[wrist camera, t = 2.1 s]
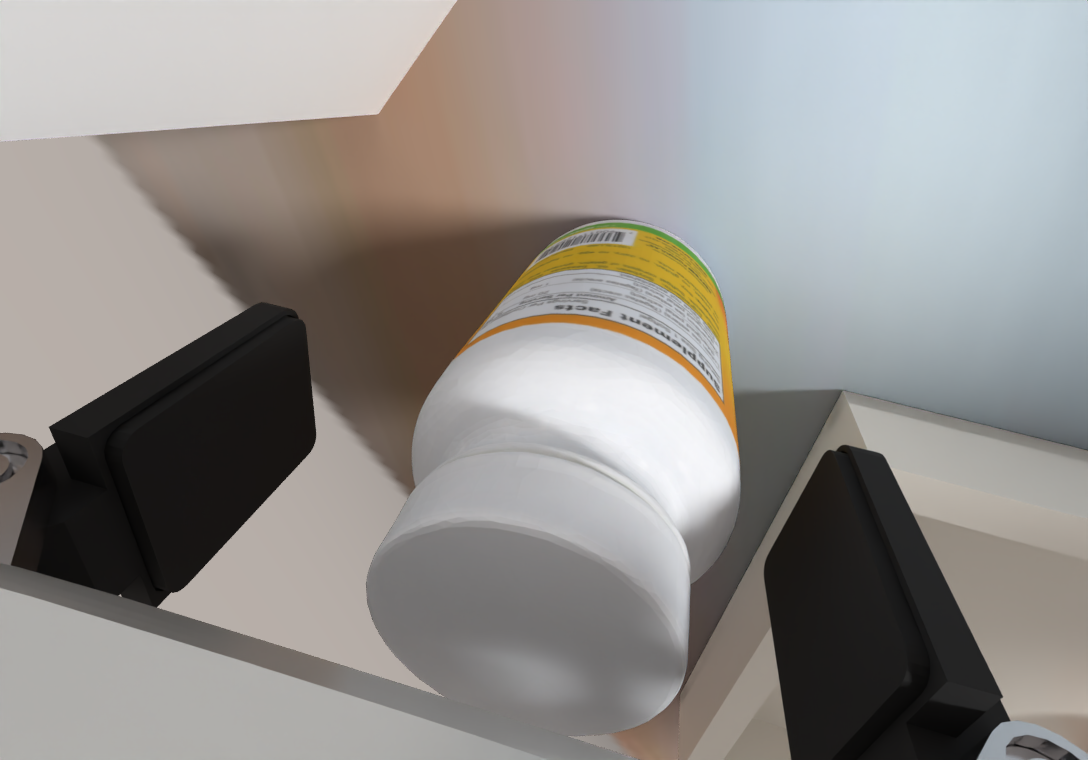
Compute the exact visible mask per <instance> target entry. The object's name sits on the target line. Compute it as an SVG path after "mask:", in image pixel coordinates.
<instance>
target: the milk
mask: <svg viewBox="0 0 1088 760" xmlns="http://www.w3.org/2000/svg"><path fill="white" fill-rule="evenodd" d="M456 1H457V0H0V142H6V141H19V140H33V139H46V138H60V137H73V136H88V135H102V134H115V133H129V132H143V131H156V130H170V129H184V128H197V127H211V126H225V125H238V124H252V123H266V122H279V121H293V120H307V119H320V118H334V117H348V116H361V115H375V114H378V113H379V112H380V111H381V109H382V108H383V106H384V105H385V103H386V102H387V100H388V99H389V98H390V96H391V95H392V93H393V92H394V90H395V89H396V88H397V86H398V85H399V83H400V82H401V80H402V79H403V77H404V76H405V75H406V73H407V72H408V70H409V69H410V67H411V66H412V64H413V63H414V62H415V60H416V59H417V57H418V56H419V54H420V53H421V52H422V50H423V49H424V47H425V46H426V44H427V43H428V41H429V40H430V39H431V37H432V36H433V34H434V33H435V31H436V30H437V28H438V27H439V26H440V24H441V23H442V21H443V20H444V18H445V17H446V16H447V14H448V13H449V11H450V10H451V8H452V7H453V5H454V4H455V3H456Z"/></svg>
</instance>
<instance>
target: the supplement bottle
mask: <svg viewBox="0 0 1088 760" xmlns="http://www.w3.org/2000/svg"><path fill="white" fill-rule="evenodd" d="M412 471H413V478H414V482H415V487H416V488H415V489H414V490H413V492H412V493H411V494H410V495H409V497H408V499H407V501H406V503H405V504H404V506H403V508H402V510H401V512H400V514H399V516H398V517H397V519H396V521H395V523H394V524H393V526H392V527H391V529H390V531H389V532H388V534H387V535H386V537H385V539H384V540H383V542H382V543H381V545H380V547H379V548H378V550H377V552H376V553H375V555H374V558H373V560H372V563H371V566H370V568H369V572H368V576H367V582H366V588H367V589H366V590H367V603H368V607H369V610H370V613H371V616H372V620H373V622H374V624H375V626H376V628H377V630H378V632H379V634H380V636H381V637H382V639H383V640H384V642H385V643H386V644H387V646H388V647H389V648H390V650H391V651H392V652H393V653H394V655H395V656H396V657H397V658H398V659H399V660H400V661H401V662H402V663H403V664H404V665H405V666H406V667H407V668H408V669H409V670H410V671H411V672H412V673H413V674H414V675H415V676H417V677H418V678H419V679H420V680H422V681H423V682H424V683H426V684H427V685H429V686H430V687H432V688H433V689H434V690H436V691H437V692H438V693H439V694H441V695H443V696H444V697H446V698H448V699H451V700H454V701H457V702H461V703H464V704H467V705H470V706H473V707H476V708H480V709H483V710H486V711H489V712H492V713H495V714H499V715H502V716H505V717H508V718H511V719H514V720H518V721H521V722H524V723H527V724H530V725H533V726H536V727H539V728H543V729H546V730H549V731H552V732H555V733H558V734H561V735H564V736H585V735H602V734H610V733H616V732H620V731H624V730H627V729H631V728H634V727H636V726H638V725H641V724H643V723H645V722H648V721H649V720H651V719H652V718H653V717H655V716H656V715H658V714H659V713H660V712H662V711H663V710H664V709H665V708H666V707H667V706H668V705H669V704H670V703H671V702H672V701H673V699H674V698H675V696H676V695H677V693H678V692H679V690H680V687H681V685H682V683H683V680H684V677H685V673H686V670H687V663H688V642H689V625H690V591H691V587H690V585H691V584H692V583H694V582H695V581H697V580H698V579H699V578H700V577H701V576H702V575H703V574H705V573H706V572H707V571H708V570H709V569H710V567H711V566H712V565H713V564H714V563H715V561H716V560H717V559H718V558H719V556H720V555H721V553H722V551H723V550H724V548H725V547H726V545H727V543H728V541H729V539H730V536H731V534H732V531H733V529H734V526H735V523H736V519H737V515H738V510H739V506H740V494H741V482H740V456H739V446H738V436H737V426H736V415H735V404H734V393H733V384H732V374H731V361H730V352H729V341H728V330H727V321H726V313H725V307H724V302H723V298H722V294H721V291H720V288H719V286H718V283H717V281H716V279H715V277H714V275H713V273H712V272H711V270H710V268H709V267H708V265H707V264H706V263H705V261H704V260H703V259H702V258H701V257H700V256H699V254H698V253H697V252H696V251H695V250H693V249H692V248H691V247H690V246H689V245H688V244H687V243H686V242H684V241H683V240H682V239H680V238H679V237H677V236H676V235H674V234H672V233H670V232H669V231H666V230H664V229H662V228H659V227H657V226H654V225H650V224H647V223H643V222H638V221H631V220H605V221H598V222H593V223H589V224H586V225H582V226H580V227H577V228H575V229H573V230H571V231H569V232H567V233H565V234H563V235H562V236H560V237H559V238H557V239H556V240H554V241H553V242H552V243H551V244H549V245H548V246H547V247H546V248H545V249H544V250H543V251H542V252H541V253H540V254H539V255H538V256H537V257H536V258H535V259H534V260H533V262H532V263H531V264H530V265H529V266H528V268H527V269H526V270H525V271H524V272H523V274H522V275H521V276H520V277H519V279H518V280H517V281H516V283H515V284H514V285H513V286H512V288H511V289H510V290H509V291H508V292H507V294H506V295H505V296H504V297H503V299H502V300H501V301H500V302H499V304H498V305H497V306H496V307H495V309H494V310H493V311H492V312H491V314H490V315H489V316H488V317H487V318H486V320H485V321H484V322H483V323H482V325H481V326H480V327H479V328H478V330H477V331H476V332H475V333H474V334H473V336H472V337H471V338H470V339H469V340H468V342H467V343H466V344H465V346H464V347H463V348H462V349H461V350H460V352H459V353H458V354H457V355H456V357H455V358H454V359H453V361H452V362H451V363H450V365H449V366H448V367H447V369H446V370H445V371H444V373H443V374H442V375H441V377H440V378H439V380H438V381H437V382H436V384H435V385H434V387H433V389H432V390H431V392H430V393H429V395H428V396H427V398H426V400H425V402H424V404H423V406H422V408H421V411H420V414H419V416H418V419H417V423H416V426H415V430H414V435H413V442H412Z"/></svg>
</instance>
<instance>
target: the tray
mask: <svg viewBox="0 0 1088 760" xmlns="http://www.w3.org/2000/svg"><path fill="white" fill-rule="evenodd" d="M841 445H850V446H854V447H858V448H862V449H866V450H870V451H874V452H878V453H881V454H883V456H884V457H885V458H886V460H887V462H888V464H889V466H890V468H891V470H892V472H893V474H894V476H895V478H896V480H897V482H898V484H899V486H900V488H901V490H902V493H903V495H904V497H905V499H906V501H907V503H908V505H909V507H910V509H911V511H912V513H913V515H914V517H915V519H916V521H917V523H918V525H919V527H920V529H921V531H922V533H923V535H924V537H925V539H926V541H927V543H928V545H929V547H930V549H931V551H932V553H933V555H934V557H935V559H936V561H937V563H938V566H939V568H940V570H941V572H942V574H943V576H944V578H945V580H946V582H947V584H948V586H949V588H950V590H951V592H952V594H953V596H954V598H955V600H956V602H957V604H958V606H959V608H960V610H961V612H962V614H963V616H964V618H965V620H966V622H967V624H968V626H969V628H970V630H971V632H972V634H973V636H974V638H975V641H976V643H977V645H978V647H979V649H980V651H981V653H982V655H983V657H984V659H985V661H986V663H987V665H988V667H989V669H990V671H991V673H992V675H993V677H994V679H995V681H996V683H997V685H998V687H999V689H1000V691H1001V693H1002V695H1003V698H1001V699H1000V700H1001V702H1002V704H1003V706H1004V708H1005V710H1006V712H1007V714H1008V716H1009V718H1010V721H1016V720H1018V721H1022V722H1027V723H1032V724H1036V725H1039V726H1041V727H1043V728H1045V729H1047V730H1050V731H1052V732H1054V733H1056V734H1058V735H1060V736H1062V737H1063V738H1065V739H1066V740H1068V741H1069V742H1071V743H1072V744H1074V745H1075V746H1077V747H1078V748H1080V749H1081V750H1083V751H1084V752H1085V753H1087V754H1088V450H1084V449H1080V448H1076V447H1072V446H1068V445H1063V444H1059V443H1055V442H1051V441H1047V440H1043V439H1039V438H1035V437H1031V436H1027V435H1023V434H1019V433H1015V432H1011V431H1007V430H1003V429H998V428H994V427H990V426H986V425H982V424H978V423H974V422H970V421H966V420H962V419H958V418H954V417H950V416H946V415H942V414H938V413H933V412H929V411H925V410H921V409H917V408H913V407H909V406H905V405H901V404H897V403H893V402H889V401H885V400H881V399H877V398H873V397H869V396H864V395H860V394H856V393H852V392H848V391H844V390H843V391H842V393H841V395H840V397H839V398H838V400H837V402H836V404H835V406H834V408H833V410H832V411H831V413H830V415H829V417H828V419H827V421H826V423H825V425H824V426H823V428H822V430H821V432H820V434H819V436H818V438H817V440H816V441H815V443H814V445H813V447H812V449H811V451H810V453H809V454H808V456H807V458H806V460H805V462H804V464H803V466H802V468H801V469H800V471H799V473H798V475H797V477H796V479H795V481H794V483H793V484H792V486H791V488H790V490H789V492H788V494H787V496H786V497H785V499H784V501H783V503H782V505H781V507H780V509H779V511H778V512H777V514H776V516H775V518H774V520H773V522H772V524H771V525H770V527H769V529H768V531H767V533H766V535H765V537H764V539H763V540H762V542H761V544H760V546H759V548H758V550H757V552H756V554H755V555H754V557H753V559H752V561H751V563H750V565H749V567H748V568H747V570H746V572H745V574H744V576H743V578H742V580H741V582H740V583H739V585H738V587H737V589H736V591H735V593H734V595H733V597H732V598H731V600H730V602H729V604H728V606H727V608H726V610H725V611H724V613H723V615H722V617H721V619H720V621H719V623H718V625H717V626H716V628H715V630H714V632H713V634H712V636H711V638H710V639H709V641H708V643H707V645H706V647H705V649H704V651H703V653H702V654H701V656H700V658H699V660H698V662H697V664H696V666H695V668H694V669H693V671H692V673H691V675H690V677H689V679H688V681H687V682H686V684H685V686H684V688H683V690H682V692H681V694H680V708H679V737H678V760H791V755H790V749H789V742H788V735H787V729H786V722H785V715H784V709H783V702H782V695H781V689H780V682H779V675H778V669H777V662H776V656H775V649H774V642H773V636H772V629H771V622H770V616H769V609H768V602H767V596H766V589H765V582H764V565H765V561H766V558H767V555H768V553H769V552H770V550H771V548H772V546H773V544H774V542H775V541H776V539H777V537H778V535H779V533H780V532H781V530H782V528H783V526H784V524H785V523H786V521H787V519H788V517H789V515H790V514H791V512H792V510H793V508H794V506H795V505H796V503H797V501H798V499H799V497H800V495H801V494H802V492H803V490H804V488H805V486H806V485H807V483H808V481H809V479H810V477H811V476H812V474H813V472H814V470H815V468H816V467H817V465H818V463H819V461H820V459H821V457H822V456H823V454H824V453H825V452H826V451H827V450H833V451H836V450H837V449H838V448H839V447H840V446H841Z"/></svg>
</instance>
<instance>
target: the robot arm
mask: <svg viewBox="0 0 1088 760" xmlns="http://www.w3.org/2000/svg"><path fill="white" fill-rule="evenodd" d="M312 397H313V396H312V386H311V376H310V366H309V355H308V345H307V335H306V327H305V324H304V322H303V321H302V320H300V319H299V318H298V315H297V314H296V312H295V311H294V310H292V309H288V308H284V307H280V306H276V305H272V304H268V303H258V304H256V305H254V306H252V307H251V308H249V309H247V310H245V311H244V312H242V313H240V314H239V315H237V316H235V317H234V318H232V319H230V320H229V321H227V322H225V323H224V324H222V325H220V326H219V327H217V328H215V329H213V330H212V331H210V332H208V333H207V334H205V335H203V336H202V337H200V338H198V339H197V340H195V341H193V342H192V343H190V344H188V345H186V346H185V347H183V348H181V349H180V350H178V351H176V352H175V353H173V354H171V355H170V356H168V357H166V358H165V359H163V360H161V361H159V362H158V363H156V364H154V365H153V366H151V367H149V368H148V369H146V370H144V371H143V372H141V373H139V374H137V375H136V376H134V377H132V378H131V379H129V380H127V381H126V382H124V383H123V384H121V385H119V386H117V387H116V388H114V389H112V390H110V391H109V392H107V393H105V394H104V395H102V396H100V397H99V398H97V399H95V400H94V401H92V402H90V403H88V404H87V405H85V406H83V407H82V408H80V409H78V410H77V411H75V412H74V413H72V414H70V415H68V416H67V417H65V418H63V419H62V420H60V421H58V422H56V423H55V424H53V425H52V426H50V427H49V428H50V431H51V433H52V436H53V438H54V440H55V442H56V443H54V444H53V445H51V446H49V447H48V448H46V449H45V450H43V448H42V446H41V445H40V444H39V443H38V442H37V441H36V439H33V438H31V437H28V436H25V435H22V434H13V433H0V760H639V759H636V758H633V757H630V756H627V755H624V754H621V753H617V752H614V751H611V750H608V749H605V748H602V747H599V746H596V745H592V744H589V743H586V742H583V741H580V740H577V739H574V738H571V737H568V736H564V735H561V734H558V733H555V732H552V731H549V730H546V729H543V728H539V727H536V726H533V725H530V724H527V723H524V722H521V721H518V720H514V719H511V718H508V717H505V716H502V715H499V714H495V713H492V712H489V711H486V710H483V709H480V708H476V707H473V706H470V705H467V704H464V703H461V702H457V701H454V700H451V699H448V698H445V697H442V696H438V695H435V694H432V693H429V692H426V691H422V690H419V689H416V688H413V687H410V686H406V685H404V684H400V683H397V682H394V681H391V680H388V679H384V678H381V677H378V676H375V675H372V674H369V673H365V672H362V671H359V670H355V669H353V668H349V667H346V666H343V665H340V664H337V663H333V662H330V661H327V660H324V659H320V658H318V657H314V656H311V655H308V654H305V653H301V652H298V651H295V650H292V649H289V648H285V647H282V646H279V645H275V644H272V643H269V642H266V641H263V640H260V639H256V638H253V637H250V636H247V635H243V634H240V633H237V632H233V631H230V630H227V629H224V628H221V627H217V626H214V625H211V624H208V623H205V622H201V621H198V620H195V619H191V618H188V617H185V616H182V615H179V614H175V613H172V612H169V611H166V610H162V609H159V608H157V607H158V606H159V605H160V604H161V602H162V601H163V600H164V599H165V598H166V597H167V596H168V595H169V594H170V593H171V592H172V593H174V592H178V591H180V590H181V589H183V588H184V587H185V586H186V585H187V584H188V583H189V582H190V581H191V580H192V579H193V578H194V577H195V576H196V575H197V574H198V572H199V571H200V570H201V569H202V568H203V567H204V566H205V565H206V564H207V563H208V562H209V561H210V560H211V559H212V557H213V556H214V555H215V554H216V553H217V552H218V551H219V550H220V549H221V548H222V547H223V545H224V544H225V543H226V542H227V541H228V540H229V539H230V538H231V537H232V536H233V535H234V534H235V533H236V532H237V531H238V530H239V528H240V527H241V526H242V525H243V524H244V523H245V522H246V521H247V520H248V519H249V518H250V517H251V515H252V514H253V513H254V512H255V511H256V510H257V509H258V508H259V507H260V506H261V505H262V504H263V503H264V502H265V500H266V499H267V498H268V497H269V496H270V495H271V494H272V493H273V492H274V491H275V490H276V489H277V487H279V485H280V484H281V483H282V482H283V481H284V480H285V479H286V478H287V477H288V476H289V475H290V474H291V473H292V471H293V470H294V469H295V468H296V467H297V466H298V465H299V464H300V463H301V462H302V460H303V459H305V458H306V456H307V455H308V454H309V453H310V452H311V450H312V448H313V446H314V444H315V440H316V427H315V416H314V406H313V398H312ZM764 582H765V589H766V596H767V602H768V609H769V616H770V622H771V629H772V636H773V642H774V649H775V656H776V662H777V669H778V675H779V682H780V689H781V695H782V702H783V709H784V715H785V722H786V729H787V735H788V742H789V749H790V755H791V760H1088V754H1087V753H1085V752H1084V751H1083V750H1081V749H1080V748H1078V747H1077V746H1075V745H1074V744H1072V743H1071V742H1069V741H1068V740H1066V739H1065V738H1063V737H1062V736H1060V735H1058V734H1056V733H1054V732H1052V731H1050V730H1047V729H1045V728H1043V727H1041V726H1039V725H1036V724H1032V723H1027V722H1022V721H1018V720H1016V721H1010V718H1009V716H1008V714H1007V712H1006V710H1005V708H1004V706H1003V704H1002V702H1001V700H1000V699H1001V698H1003V695H1002V693H1001V691H1000V689H999V687H998V685H997V683H996V681H995V679H994V677H993V675H992V673H991V671H990V669H989V667H988V665H987V663H986V661H985V659H984V657H983V655H982V653H981V651H980V649H979V647H978V645H977V643H976V641H975V638H974V636H973V634H972V632H971V630H970V628H969V626H968V624H967V622H966V620H965V618H964V616H963V614H962V612H961V610H960V608H959V606H958V604H957V602H956V600H955V598H954V596H953V594H952V592H951V590H950V588H949V586H948V584H947V582H946V580H945V578H944V576H943V574H942V572H941V570H940V568H939V566H938V563H937V561H936V559H935V557H934V555H933V553H932V551H931V549H930V547H929V545H928V543H927V541H926V539H925V537H924V535H923V533H922V531H921V529H920V527H919V525H918V523H917V521H916V519H915V517H914V515H913V513H912V511H911V509H910V507H909V505H908V503H907V501H906V499H905V497H904V495H903V493H902V490H901V488H900V486H899V484H898V482H897V480H896V478H895V476H894V474H893V472H892V470H891V468H890V466H889V464H888V462H887V460H886V458H885V457H884V456H883V454H881V453H878V452H874V451H870V450H866V449H862V448H858V447H854V446H850V445H841V446H840V447H839V448H838V449H837V450H836V451H833V450H827V451H826V452H825V453H824V454H823V456H822V457H821V459H820V461H819V463H818V465H817V467H816V468H815V470H814V472H813V474H812V476H811V477H810V479H809V481H808V483H807V485H806V486H805V488H804V490H803V492H802V494H801V495H800V497H799V499H798V501H797V503H796V505H795V506H794V508H793V510H792V512H791V514H790V515H789V517H788V519H787V521H786V523H785V524H784V526H783V528H782V530H781V532H780V533H779V535H778V537H777V539H776V541H775V542H774V544H773V546H772V548H771V550H770V552H769V553H768V555H767V558H766V561H765V565H764ZM120 594H121V596H122V597H120V596H119V595H120Z"/></svg>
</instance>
